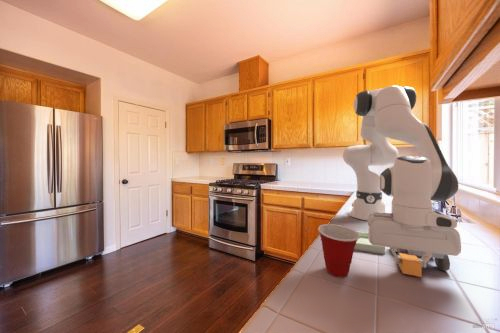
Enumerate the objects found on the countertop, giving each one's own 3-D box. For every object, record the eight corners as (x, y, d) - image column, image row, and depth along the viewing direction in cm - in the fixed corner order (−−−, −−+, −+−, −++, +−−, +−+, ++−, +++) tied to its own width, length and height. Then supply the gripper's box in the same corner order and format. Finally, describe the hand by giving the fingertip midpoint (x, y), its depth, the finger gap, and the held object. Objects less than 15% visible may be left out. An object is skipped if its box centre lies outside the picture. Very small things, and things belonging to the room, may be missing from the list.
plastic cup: (346, 288, 51) (346, 240, 51) (309, 270, 60) (309, 228, 59) (367, 274, 57) (367, 231, 57) (331, 258, 66) (331, 221, 66)
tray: (348, 236, 85) (348, 230, 85) (377, 239, 81) (377, 233, 81) (350, 249, 73) (350, 242, 73) (384, 254, 69) (384, 246, 69)
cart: (390, 247, 74) (390, 224, 74) (428, 252, 70) (429, 227, 70) (402, 266, 61) (402, 238, 61) (449, 274, 57) (450, 243, 57)
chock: (421, 276, 55) (421, 263, 54) (402, 273, 56) (403, 260, 56) (415, 267, 59) (416, 255, 59) (398, 264, 61) (399, 252, 61)
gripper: (369, 214, 58) (368, 262, 59) (465, 222, 50) (464, 278, 51) (366, 209, 64) (365, 253, 64) (452, 215, 56) (450, 265, 57)
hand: (409, 264), depth 58 cm, fingers closed on chock, 4 cm apart
